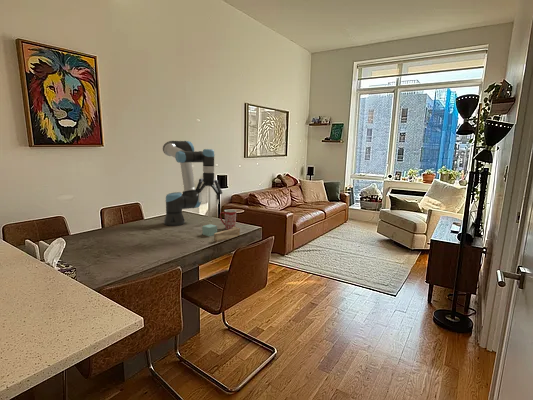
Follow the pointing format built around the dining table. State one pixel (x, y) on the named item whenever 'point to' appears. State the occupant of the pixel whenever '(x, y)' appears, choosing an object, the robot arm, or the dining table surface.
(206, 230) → the block
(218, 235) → the stop board
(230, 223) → the mug
